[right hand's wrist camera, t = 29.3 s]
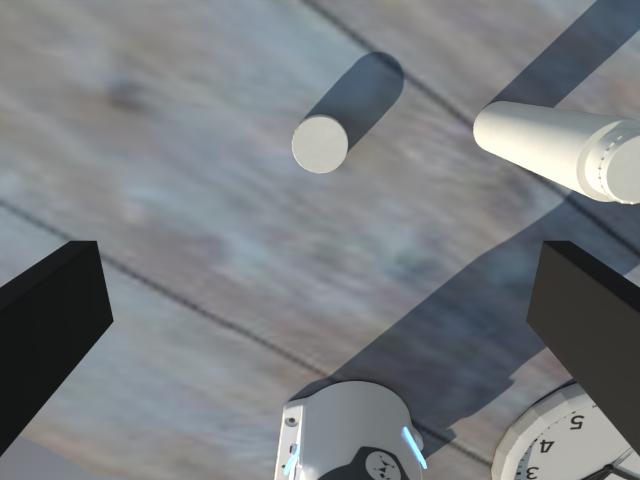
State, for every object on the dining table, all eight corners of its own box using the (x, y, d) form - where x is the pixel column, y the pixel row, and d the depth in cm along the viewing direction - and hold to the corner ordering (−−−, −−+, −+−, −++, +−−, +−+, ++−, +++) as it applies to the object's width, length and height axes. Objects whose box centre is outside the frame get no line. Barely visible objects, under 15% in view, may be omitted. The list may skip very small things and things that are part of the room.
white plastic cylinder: (471, 106, 40) (598, 132, 22) (523, 96, 39) (694, 114, 21) (474, 155, 41) (593, 218, 23) (523, 146, 41) (682, 203, 23)
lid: (358, 144, 41) (360, 148, 39) (317, 180, 42) (317, 185, 40) (323, 101, 39) (323, 102, 37) (281, 139, 41) (279, 142, 39)
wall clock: (764, 371, 49) (701, 542, 60) (751, 362, 50) (692, 530, 61) (503, 390, 50) (489, 554, 61) (498, 381, 51) (485, 543, 62)
